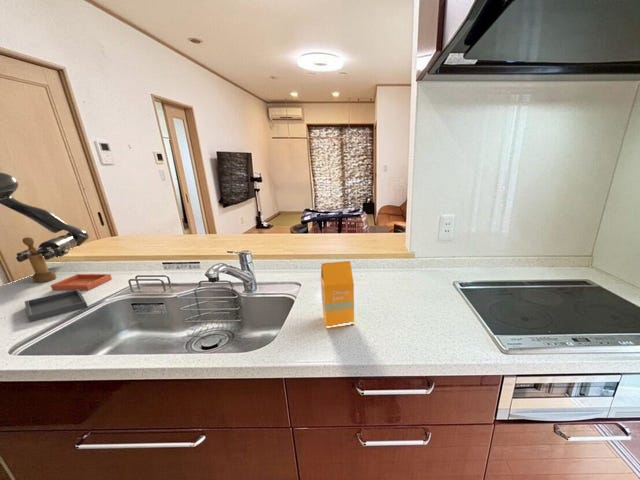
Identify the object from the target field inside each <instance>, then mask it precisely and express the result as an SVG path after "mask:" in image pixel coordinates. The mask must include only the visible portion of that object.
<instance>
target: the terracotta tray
mask: <svg viewBox="0 0 640 480" xmlns="http://www.w3.org/2000/svg"><path fill="white" fill-rule="evenodd" d="M112 279H113V278H112V274H110V273H76V274H73V275H72V276H69V277H66V278H64V279H63V280H62V279H61V280H60V281H57V282H54V283H52V284H50V285H49V286H50V288H51V290H52V291H72V290H76V289H79V291H90V290H92V289H95V288H96V287H98V286H100V285H102V284H104V283H106V282H108V281H111V280H112Z"/></svg>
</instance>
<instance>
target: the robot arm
mask: <svg viewBox="0 0 640 480" xmlns="http://www.w3.org/2000/svg"><path fill="white" fill-rule="evenodd" d="M18 188H19V182H18V180H17V179H16V178H15V177H14V176H12V175H10V174H8V173H5V172H1V171H0V205H2V206H4V207H6V208H9V209H10V210H12V211H14V212H16V213H18V214H21V215H23V216H25V217H26V218H28V219H30V220H32V221H33V222H35V223H37V224H38V225H40V226H42V228H44V229H46V230H47V231H48V232H50V233H52V234H58V233H60V232H62V231H65V232H67V233H66V234H63V235H59V236H57V237H53V238H50V239H48V240H46V241H43V242H41V243H39V245H38V247H36V251H37V253H41V254H42V256H44V257H43V259H44V261H48V260H51V259H54V258H53V257H57V258H60V257H64V256H65V255H67V254H69V252H70V251H71V249H70V248H72V250H74V249H73V248H74V247H76V246H79V247H81V246H82V245H83V244H84V243H85V242H86V241H88V240H89V239H90V235H89V233H88V232H87V231H86V230H84V229H82V228H80V227H77V226H75V225H73V224H71V223H69V222H66V221H64V219H63V220H62V219H61V218H60V217H58V216H57V215H55V214H54V213H53V212H51V211H49V210H47V209H44V208H41V207H37V206H32V205H29V204H27V203H24V202H21V201H20V200H18V199H16V198H15V197H14V196H13V194H14V193H15V192H16V191H17V190H18ZM69 250H70V251H69ZM29 254H31V253H30V252H29V251H28V249H24V250H22V251H19V252H17V253H16V257H15V259H16V261H17V262H19V263H22V262H24V261H26V260H29V258H28V256H27V255H29ZM58 256H59V257H58Z"/></svg>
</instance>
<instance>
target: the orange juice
mask: <svg viewBox="0 0 640 480" xmlns="http://www.w3.org/2000/svg"><path fill="white" fill-rule="evenodd" d="M353 278H354V277H353V270H352V264H351V260H348V261H336V262H323V263H321V270H320V285H321V286H320V287H321V303H322V305H321V306H322V319H323V322H324V324H325V323H326V325H325V329H326V330H329V329H337V328H343V327H342V326H338V327H331V328H326V326H333V325H338V324H343V323H349V322H354V323H355V293H354V292H355V287H354V284H355V283H354V279H353ZM323 316H324V318H323ZM324 320H325V321H324Z"/></svg>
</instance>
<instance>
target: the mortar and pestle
mask: <svg viewBox="0 0 640 480" xmlns="http://www.w3.org/2000/svg"><path fill="white" fill-rule="evenodd" d="M21 241H22V243H23V244H24V245H26V246H27V250H28V251H29V252H30V253H31V254H29V255H27V256H28V258H29V259H28V261H29V262H30V265H31V267H32V269H33V271H34V274H33V275H32V276H31V279H32V282H33V283H38V284H39V283H46V282H50V281H54V280H56V279H57V275H56V273H55V271H51V270H50V269H49V268H48V266H47V264H46V260H45V258H44V257H43V256H42V254H41V253H37V251H36V249H37V247H35V246H34V244H35V240H34V238H32V237H29V236H28V237H27V236H26V237H23V238H22V240H21Z"/></svg>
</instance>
